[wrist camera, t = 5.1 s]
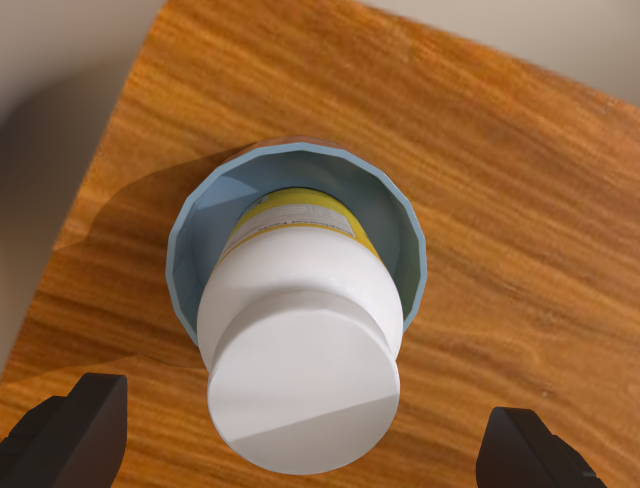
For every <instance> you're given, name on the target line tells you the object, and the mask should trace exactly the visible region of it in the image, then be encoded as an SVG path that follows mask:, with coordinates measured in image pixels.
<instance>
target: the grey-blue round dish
mask: <svg viewBox="0 0 640 488" xmlns="http://www.w3.org/2000/svg"><path fill="white" fill-rule="evenodd" d="M292 186H303V187H311V188H315V189H319V190H322V191H324V192H327V193H329V194H331V195H332V196H334V197H336V198H337V199H339V200H340V201H341V202H343V203H344V204H345V205H346V206H347V207H348V208H349V209H350V210H351V211H352V213H353V214H354V215H355V217H356V218H357V220H358V222H359V223H360V225H361V227H362V228H363V230H364V232H365V233H366V235H367V236H368V238H369V240H370V242H371V243H372V245H373V247H374V248H375V250H376V252H377V253H378V255H379V257H380V259H381V260H382V262H383V264H384V266H385V267H386V269H387V271H388V273H389V274H390V276H391V278H392V280H393V282H394V284H395V286H396V289H397V291H398V294H399V298H400V301H401V306H402V312H403V334H404V332H405V331H406V329H407V328H408V326H409V325H410V323H411V321H412V320H413V318H414V317H415V315H416V314H417V312H418V308H419V305H420V301H421V298H422V294H423V290H424V287H425V283H426V280H427V262H426V243H425V237H424V234H423V232H422V229H421V227H420V225H419V222H418V220H417V217H416V215H415V213H414V210H413V208H412V205H411V203H410V201H409V200H408V199H407V198H406V197H405V196H404V195H403V193H402V192H401V191H400V190H399V189H398V188H397V187H396V186H395V184H394V183H393V182H392V181H391V180H390V179H389V178H388V177H387V176H386V174H385V173H384V172H383V171H381V170H380V169H379V168H378V167H376V166H375V165H374V164H372V163H371V162H370V161H368V160H367V159H365V158H364V157H362V156H360V155H358V154H356V153H355V152H353V151H351V150H350V149H348V148H346V147H344V146H342V145H340V144H339V143H337V142H333V141H328V140H324V139H319V138H314V137H307V136H302V135H300V136H299V135H296V136H287V137H277V138H273V139H266V140H261V141H259V142H257V143H255V144H253V145H251V146H248V147H247V148H245V149H243V150H241V151H239V152H237V153H235V154H233V155H231V156H229V157H228V158H227V159H226V160H225V161H223V162H222V163H221V164H220V165H219V166H218V167H217V168H216V169H215V170H214V171H213V172H212V173H211V174H210V175H209V176H208V177H207V178H206V179H205V180H204V181H203V182H202V183H201V184H200V185H199V186H198V187H197V188H196V189H195V190H194V191H193V192H192V193H191V194H190V195H189V196H188V197H187V198H186V200H185V202H184V204H183V206H182V208H181V210H180V213H179V215H178V217H177V219H176V221H175V223H174V225H173V227H172V229H171V232H170V234H169V238H168V248H167V258H166V269H165V277H166V281H167V285H168V289H169V293H170V297H171V301H172V305H173V309H174V312H175V314H176V316H177V317H178V319H179V320H180V322H181V324H182V325H183V327H184V328H185V330H186V331H187V333H188V334H189V336H190V337H191V339H192V341H193V342H194V344H195V345H196V346H197V347H199V346H198V338H197V315H198V309H199V305H200V301H201V298H202V295H203V292H204V289H205V286H206V284H207V282H208V280H209V278H210V276H211V273H212V271H213V269H214V267H215V265H216V264H217V262H218V260H219V257H220V255H221V253H222V251H223V249H224V247H225V245H226V243H227V241H228V238H229V236H230V234H231V232H232V229H233V227H234V225H235V223H236V222H237V220H238V218H239V217H240V215H241V214H242V213H243V212H244V210H245V209H246V208H247V207H248V206H249V205H250V204H251V203H253V202H254V201H255V200H256V199H258V198H259V197H261V196H263V195H264V194H266V193H269V192H271V191H274V190H276V189H280V188H284V187H292ZM403 334H402V335H403Z"/></svg>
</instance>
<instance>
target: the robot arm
mask: <svg viewBox="0 0 640 488" xmlns="http://www.w3.org/2000/svg"><path fill="white" fill-rule="evenodd" d="M126 441H127V378H126V376H125V375H114V374H101V373H89V372H87V373H85V374H84V375H83V376H82V377H81V379H80V380H79V381H78V383H77V384H76V385H75V387H74V388H73V389H72V390H71V392H70V393H69V394H68V396H67V397H62V396H52V397H50V398H49V399H47V400H45V401H44V402H42V403H41V404H39V405H38V406H36V407H34V408H33V409H31V410H30V411H28V412H27V413H26V414H25V415H24V416H23V418H22V419H21V420H20V421H19V422H18V423H17V425H16V426H15V427H14V428H13V429H12V430H11V432H10V433H9V436H8V437H5V439H4V440H3V441H2V442H1V443H0V488H110V487H111V485H112V483H113V481H114V479H115V477H116V475H117V472H118V470H119V468H120V465H121V463H122V460H123V456H124V452H125V447H126ZM476 480H477V485H478V488H607V487H606V486H605V484H604V483H603V482H602V481H601V479H600V478H597V477H596V473H595V472H594V471H593V470H592V468H591V467H590V466H589V465H588V463H587V462H586V461H585V460H584V459H583V457H582V456H581V455H580V454H579V453H578V452H577V451H576V450H574V449H573V448H572V447H571V446H569V445H568V444H567V443H566V442H564V441H563V440H562V439H560V438H559V437H558V436H557V435H552V434H551V432H550V431H549V430H548V428H547V427H546V426H545V425H544V423H543V422H542V421H541V419H540V418H539V417H538V416H537V414H536V413H535V412H534V411H532V410H530V409H521V408H509V407H495V408H494V409H493V410H492V412H491V414H490V417H489V421H488V424H487V428H486V431H485V434H484V438H483V441H482V445H481V448H480V451H479V455H478V458H477V462H476Z"/></svg>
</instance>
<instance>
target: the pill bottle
mask: <svg viewBox="0 0 640 488" xmlns="http://www.w3.org/2000/svg"><path fill="white" fill-rule="evenodd" d="M402 334H403V312H402V306H401V301H400V298H399V294H398V291H397V289H396V286H395V284H394V282H393V280H392V278H391V276H390V274H389V273H388V271H387V269H386V267H385V266H384V264H383V262H382V260H381V259H380V257H379V255H378V253H377V252H376V250H375V248H374V247H373V245H372V243H371V242H370V240H369V238H368V236H367V235H366V233H365V232H364V230H363V228H362V227H361V225H360V223H359V222H358V220H357V218H356V217H355V215H354V214H353V213H352V211H351V210H350V209H349V208H348V207H347V206H346V205H345V204H344V203H343V202H341V201H340V200H339V199H337V198H336V197H334V196H332V195H331V194H329V193H327V192H324V191H322V190H319V189H315V188H311V187H303V186H292V187H284V188H280V189H276V190H274V191H271V192H269V193H266V194H264V195H263V196H261V197H259V198H258V199H256V200H255V201H254V202H253V203H251V204H250V205H249V206H248V207H247V208H246V209H245V210H244V212H243V213H242V214H241V215H240V217H239V218H238V220H237V222H236V223H235V225H234V227H233V229H232V232H231V234H230V236H229V238H228V241H227V243H226V245H225V247H224V249H223V251H222V253H221V255H220V257H219V260H218V262H217V264H216V265H215V267H214V269H213V271H212V273H211V276H210V278H209V280H208V282H207V284H206V286H205V289H204V292H203V295H202V298H201V301H200V305H199V309H198V315H197V338H198V346H199V349H200V353H201V356H202V359H203V362H204V364H205V366H206V368H207V370H208V372H209V378H208V383H207V401H208V408H209V413H210V416H211V419H212V422H213V424H214V426H215V428H216V430H217V432H218V433H219V435H220V436H221V438H222V439H223V440H224V442H225V443H226V444H227V445H228V446H229V447H230V448H231V449H232V450H233V451H235V452H236V453H237V454H239V455H240V456H241V457H243V458H244V459H246V460H248V461H249V462H251V463H253V464H255V465H257V466H259V467H262V468H264V469H267V470H269V471H274V472H278V473H284V474H295V475H306V474H317V473H323V472H327V471H331V470H334V469H337V468H340V467H342V466H345V465H347V464H349V463H351V462H353V461H355V460H357V459H358V458H360V457H361V456H363V455H364V454H365V453H366V452H368V451H369V450H370V449H371V448H373V447H374V446H375V445H376V444H377V442H378V441H379V440H380V439H381V438H382V437H383V436H384V434H385V433H386V431H387V430H388V428H389V426H390V425H391V423H392V421H393V419H394V416H395V413H396V410H397V407H398V402H399V396H400V381H399V374H398V369H397V365H396V362H395V360H396V358H397V355H398V352H399V349H400V345H401V341H402Z"/></svg>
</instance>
